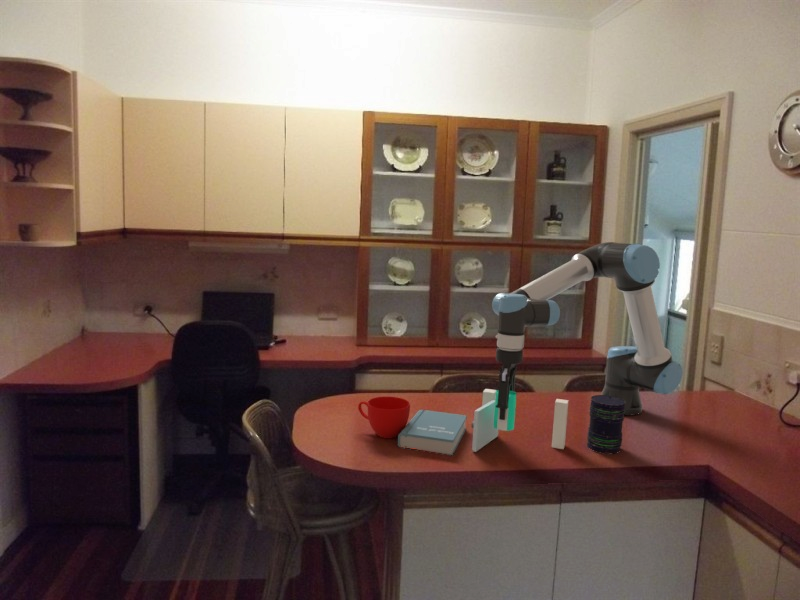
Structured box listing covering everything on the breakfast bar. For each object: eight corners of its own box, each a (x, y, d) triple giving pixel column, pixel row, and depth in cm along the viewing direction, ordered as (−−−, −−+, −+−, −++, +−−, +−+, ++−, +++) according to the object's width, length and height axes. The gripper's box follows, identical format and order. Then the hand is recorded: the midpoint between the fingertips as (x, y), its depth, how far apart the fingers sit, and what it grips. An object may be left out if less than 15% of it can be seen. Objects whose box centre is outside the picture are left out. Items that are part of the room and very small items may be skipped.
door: (475, 451, 172) (478, 411, 170) (467, 449, 173) (469, 409, 172) (498, 435, 185) (500, 398, 184) (489, 433, 187) (492, 396, 185)
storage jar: (616, 457, 173) (621, 407, 171) (582, 449, 178) (586, 400, 176) (624, 446, 181) (628, 399, 179) (591, 439, 187) (595, 392, 184)
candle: (491, 428, 173) (493, 388, 171) (496, 422, 178) (498, 383, 177) (511, 432, 171) (514, 391, 169) (516, 425, 176) (519, 386, 174)
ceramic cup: (368, 421, 194) (369, 391, 192) (415, 432, 186) (417, 401, 185) (347, 434, 182) (348, 402, 181) (397, 445, 175) (398, 412, 173)
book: (452, 457, 169) (453, 440, 169) (397, 448, 174) (398, 432, 173) (466, 430, 191) (466, 415, 190) (417, 423, 195) (417, 409, 194)
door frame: (564, 445, 181) (568, 400, 179) (563, 449, 177) (567, 403, 175) (482, 431, 189) (485, 388, 187) (480, 435, 186) (483, 391, 184)
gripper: (503, 340, 181) (497, 414, 184) (489, 353, 164) (484, 434, 167) (528, 343, 179) (522, 418, 182) (517, 356, 161) (511, 439, 164)
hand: (504, 425), depth 174 cm, fingers closed on candle, 6 cm apart
